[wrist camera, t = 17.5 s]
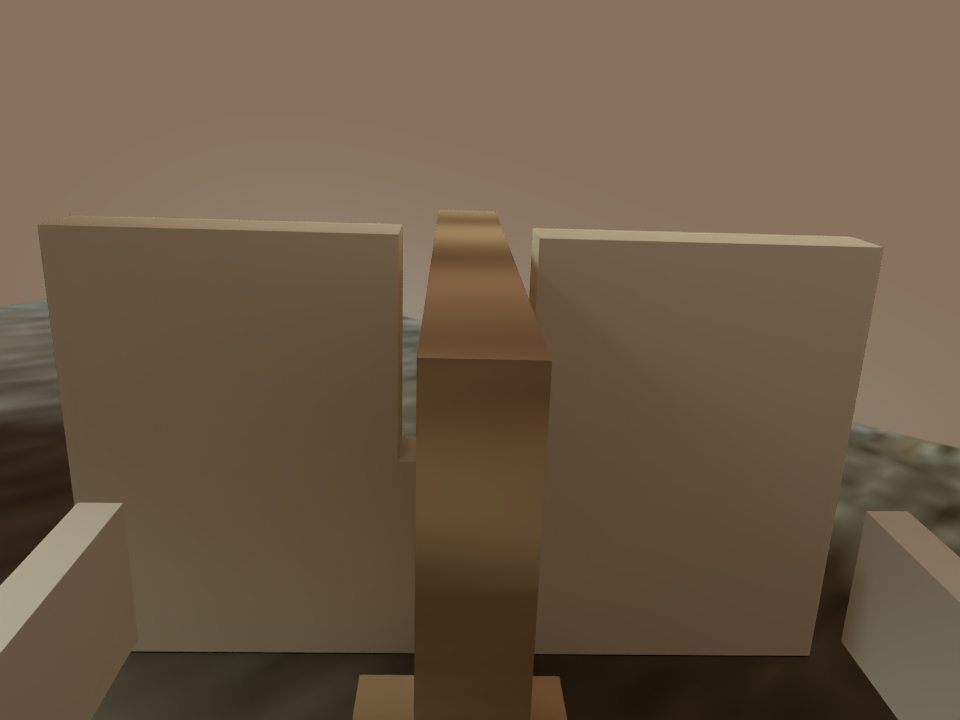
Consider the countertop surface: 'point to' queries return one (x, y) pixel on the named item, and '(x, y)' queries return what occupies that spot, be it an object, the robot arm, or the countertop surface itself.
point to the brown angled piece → (475, 491)
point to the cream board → (392, 457)
